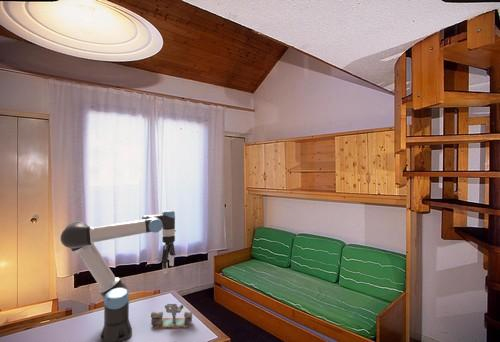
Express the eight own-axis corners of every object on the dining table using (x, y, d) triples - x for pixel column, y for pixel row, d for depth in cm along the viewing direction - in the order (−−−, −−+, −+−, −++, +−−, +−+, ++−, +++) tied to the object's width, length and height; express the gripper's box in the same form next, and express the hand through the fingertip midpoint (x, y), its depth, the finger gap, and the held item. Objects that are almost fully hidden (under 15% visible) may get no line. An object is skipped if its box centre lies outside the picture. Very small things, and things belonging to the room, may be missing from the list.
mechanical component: (182, 324, 152) (182, 306, 152) (164, 323, 152) (164, 306, 152) (183, 321, 154) (183, 303, 155) (166, 321, 155) (166, 303, 155)
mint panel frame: (149, 328, 149) (149, 315, 149) (154, 319, 158) (154, 307, 158) (190, 328, 149) (190, 315, 149) (193, 319, 158) (193, 307, 158)
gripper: (168, 240, 155) (168, 276, 154) (179, 231, 180) (179, 262, 179) (155, 240, 155) (155, 276, 154) (168, 231, 180) (168, 262, 179)
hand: (168, 269), depth 167 cm, fingers open, 13 cm apart
